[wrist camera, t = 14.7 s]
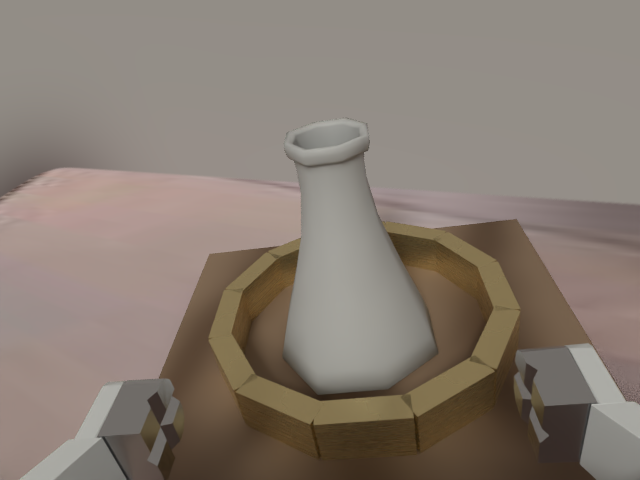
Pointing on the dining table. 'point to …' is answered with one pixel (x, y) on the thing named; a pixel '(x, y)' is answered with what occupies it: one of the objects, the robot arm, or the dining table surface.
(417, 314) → the flask
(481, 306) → the wooden ring
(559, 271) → the dining table surface
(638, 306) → the dining table surface
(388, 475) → the walnut board
